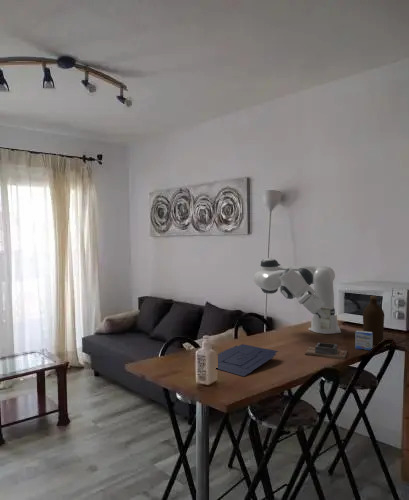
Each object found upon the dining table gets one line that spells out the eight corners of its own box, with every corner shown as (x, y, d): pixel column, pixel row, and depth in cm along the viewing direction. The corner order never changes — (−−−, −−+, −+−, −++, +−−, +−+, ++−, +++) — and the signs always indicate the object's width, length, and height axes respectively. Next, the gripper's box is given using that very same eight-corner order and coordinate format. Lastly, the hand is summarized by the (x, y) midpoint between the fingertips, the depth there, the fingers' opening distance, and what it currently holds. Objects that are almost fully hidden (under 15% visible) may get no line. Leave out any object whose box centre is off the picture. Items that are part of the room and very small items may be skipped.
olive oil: (378, 346, 205) (378, 298, 205) (358, 342, 214) (358, 296, 213) (388, 343, 212) (388, 296, 212) (369, 339, 220) (369, 294, 220)
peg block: (321, 327, 196) (321, 307, 196) (330, 328, 194) (330, 307, 194) (320, 329, 192) (320, 308, 192) (329, 329, 190) (329, 308, 190)
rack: (309, 348, 203) (309, 340, 202) (347, 352, 195) (347, 344, 195) (305, 354, 192) (305, 346, 192) (344, 359, 184) (344, 350, 184)
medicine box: (355, 348, 202) (355, 331, 202) (356, 346, 206) (356, 330, 206) (371, 350, 198) (371, 333, 198) (372, 348, 202) (372, 331, 202)
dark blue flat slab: (282, 357, 183) (281, 350, 183) (244, 383, 161) (244, 374, 161) (239, 348, 199) (238, 341, 199) (199, 370, 177) (199, 362, 177)
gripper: (306, 296, 207) (325, 317, 203) (297, 302, 189) (318, 324, 185) (314, 288, 205) (334, 308, 201) (307, 293, 187) (328, 315, 183)
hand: (326, 316), depth 193 cm, fingers closed on peg block, 4 cm apart
